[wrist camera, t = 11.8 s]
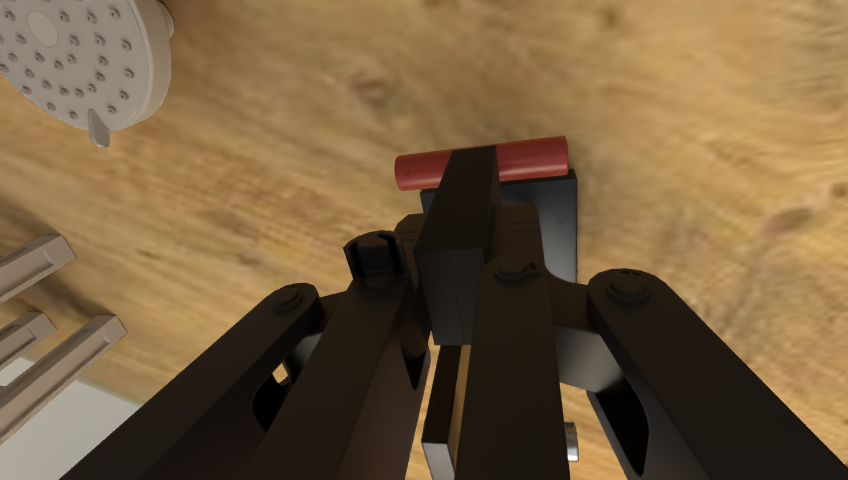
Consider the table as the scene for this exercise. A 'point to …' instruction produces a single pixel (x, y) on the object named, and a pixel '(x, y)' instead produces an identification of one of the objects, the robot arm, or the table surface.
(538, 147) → the tap lever
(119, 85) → the showerhead
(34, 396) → the stool
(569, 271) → the tap mount
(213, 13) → the table surface
